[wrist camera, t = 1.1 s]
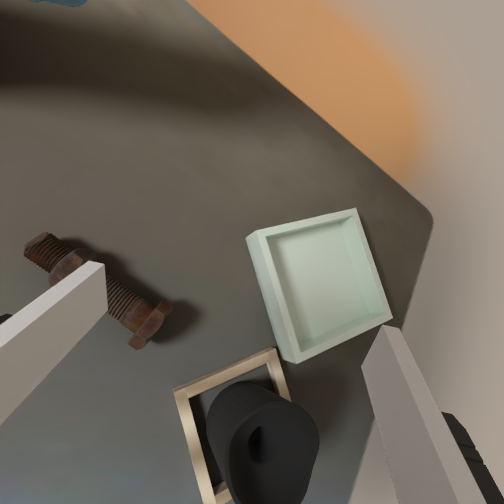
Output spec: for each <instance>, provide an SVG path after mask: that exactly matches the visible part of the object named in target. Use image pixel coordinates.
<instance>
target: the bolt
mask: <svg viewBox="0 0 504 504" xmlns="http://www.w3.org/2000/svg"><path fill="white" fill-rule="evenodd" d="M24 256H25V257H27V258H28V259H30V261H33V262H34V263H36V265H39V267H42V268H43V269H45V271H48V273H50V274H49V278H48V280H49V284H50V286H51V287H53V286H55V285H56V284H57V283H59V282H60V281H61V280H63V279H64V278H66V277H67V276H68V275H70V274H71V273H73V272H74V271H75V270H77V269H78V268H79V267H81V266H82V265H84V264H85V263H86V262H88V261H93V262H97V256H96V254H95V253H93V252H92V251H91V250H89V249H88V248H77V249H75V250H72V248H70V247H69V246H67V244H64V242H61V240H59V239H58V238H56V236H54V235H53V234H51V233H50V234H49V233H46V232H45V233H42V234H40V235H38V236H37V237H35V238H34V239H32V240H31V241H29V242H28V243H27V244H26V245H25V249H24ZM107 275H108V273H105V277H106V290H107V303H108V311H107V312H108V314H111V316H113V315H114V317H113V318H116V320H118V319H119V322H121V323H122V325H123V326H125V327H126V328H128V329H129V330H131V331H132V332H133V333H135V334H134V336H133V337H132V338H131V339H130V341H129V342H128V343H127V344H128V345H130V346H131V347H133V348H134V349H136V350H139V349H142V348H144V347H145V345H146V344H147V343H148V342H149V340H150V339H151V338H152V337H153V335H154V334H155V333H156V332H157V330H158V329H159V328H160V326H161V325H162V324H163V322H164V321H165V320H166V318H167V317H168V315H169V314H170V313H171V311H172V304H171V303H170V302H168V301H167V300H166V299H164V298H163V299H162V301H161V302H160V303H159V304H158V305H157V307H156V306H154V305H153V304H151V303H150V302H149V301H147V300H146V299H144V298H141V297H139V296H136V295H137V294H134V292H131V290H129V288H127V289H126V286H124V287H123V284H121V283H120V282H119V283H118V281H116V279H113V277H110V275H108V276H107ZM128 290H129V291H128Z"/></svg>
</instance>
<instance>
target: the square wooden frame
mask: <svg viewBox="0 0 504 504" xmlns="http://www.w3.org/2000/svg"><path fill="white" fill-rule="evenodd" d="M265 363H267V367H268V370H269V373H270V377H271V380H272V384H273V387H274V390H275V394H277V395H279V396H281V397H283V398H285V399H287V400H289V401H291V398H290V395H289V392H288V388H287V385H286V382H285V378H284V375H283V372H282V368H281V365H280V361H279V358H278V355H277V351H276V348H273V347H269V348H267V349H265V350H262V351H260V352H258V353H255V354H253V355H251V356H248V357H246V358H244V359H241V360H239V361H237V362H234V363H232V364H230V365H227V366H225V367H223V368H220V369H218V370H216V371H213V372H211V373H209V374H206V375H204V376H201V377H199V378H197V379H194V380H192V381H190V382H187V383H185V384H183V385H180V386H178V387H176V388H173V391H174V395H175V399H176V403H177V406H178V410H179V414H180V418H181V422H182V425H183V429H184V433H185V437H186V440H187V444H188V448H189V452H190V455H191V459H192V463H193V467H194V471H195V474H196V478H197V482H198V486H199V489H200V493H201V497H202V501H203V504H224V503H226V502H227V501H229V500H231V499H232V497H231V494H230V492H229V490H228V487H227V485H226V483H225V480H224V481H223V482H221V483H219V484H218V485H216V486H214V487H213V488H212V486H211V482H210V478H209V475H208V471H207V467H206V463H205V460H204V456H203V452H202V449H201V445H200V441H199V437H198V434H197V430H196V426H195V423H194V419H193V415H192V411H191V408H190V404H189V400H188V398H190V397H192V396H194V395H197V394H199V393H201V392H203V391H205V390H208V389H210V388H212V387H214V386H217V385H219V384H221V383H223V382H225V381H228V380H230V379H232V378H234V377H236V376H239V375H241V374H243V373H245V372H248V371H250V370H252V369H254V368H256V367H259V366H261V365H263V364H265Z"/></svg>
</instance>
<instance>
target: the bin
mask: <svg viewBox="0 0 504 504" xmlns="http://www.w3.org/2000/svg"><path fill="white" fill-rule="evenodd" d="M245 239H246V242H247V246H248V249H249V252H250V256H251V259H252V262H253V266H254V269H255V272H256V276H257V279H258V282H259V286H260V289H261V292H262V296H263V299H264V303H265V306H266V309H267V313H268V316H269V319H270V323H271V326H272V329H273V333H274V336H275V339H276V343H277V346H278V349H279V353H280V356H281V359H283V360H286V361H289V362H292V363H295V364H298V363H300V362H302V361H304V360H306V359H308V358H311V357H313V356H315V355H317V354H319V353H321V352H323V351H325V350H327V349H329V348H332V347H334V346H336V345H338V344H340V343H342V342H344V341H346V340H348V339H350V338H353V337H355V336H357V335H359V334H361V333H363V332H365V331H367V330H369V329H371V328H373V327H376V326H378V325H380V324H382V323H384V322H386V321H388V320H390V319H392V318H393V317H392V314H391V311H390V308H389V305H388V302H387V299H386V296H385V293H384V290H383V287H382V284H381V281H380V278H379V275H378V272H377V269H376V266H375V263H374V260H373V257H372V254H371V251H370V248H369V245H368V242H367V239H366V236H365V233H364V230H363V227H362V225H361V222H360V219H359V216H358V213H357V210H356V208H353V209H348V210H344V211H340V212H335V213H331V214H326V215H322V216H318V217H313V218H309V219H305V220H300V221H296V222H291V223H287V224H283V225H278V226H274V227H270V228H265V229H261V230H256V231H255V232H253V233H252V234H250V235H249V236H247V237H246V238H245Z"/></svg>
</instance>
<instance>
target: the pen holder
mask: <svg viewBox="0 0 504 504" xmlns="http://www.w3.org/2000/svg"><path fill="white" fill-rule="evenodd" d="M206 432H207V438H208V442H209V444H210V447H211V449H212V452H213V455H214V457H215V459H216V462H217V464H218V466H219V469H220V471H221V473H222V476H223V478H224V480H225V483H226V485H227V487H228V490H229V492H230V494H231V497H232V499H233V500H234V502H235V504H300V503H301V502H302V500H303V499H304V496H305V494H306V492H307V488H308V485H309V481H310V477H311V473H312V469H313V466H314V463H315V460H316V457H317V453H318V449H319V435H318V430H317V428H316V425H315V423H314V421H313V420H312V418H311V417H310V415H309V414H308V413H307V412H306V411H305V410H304V409H303V408H301V407H300V406H298V405H296V404H294V403H292V402H291V401H289V400H287V399H285V398H283V397H281V396H279V395H277V394H275V393H273V392H271V391H269V390H267V389H265V388H263V387H261V386H259V385H257V384H254V383H250V382H238V383H235V384H232V385H230V386H228V387H227V388H225V389H224V390H223V391H221V392H220V393H219V394H218V396H217V397H216V398H215V400H214V401H213V403H212V405H211V407H210V409H209V412H208V416H207V421H206Z"/></svg>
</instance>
